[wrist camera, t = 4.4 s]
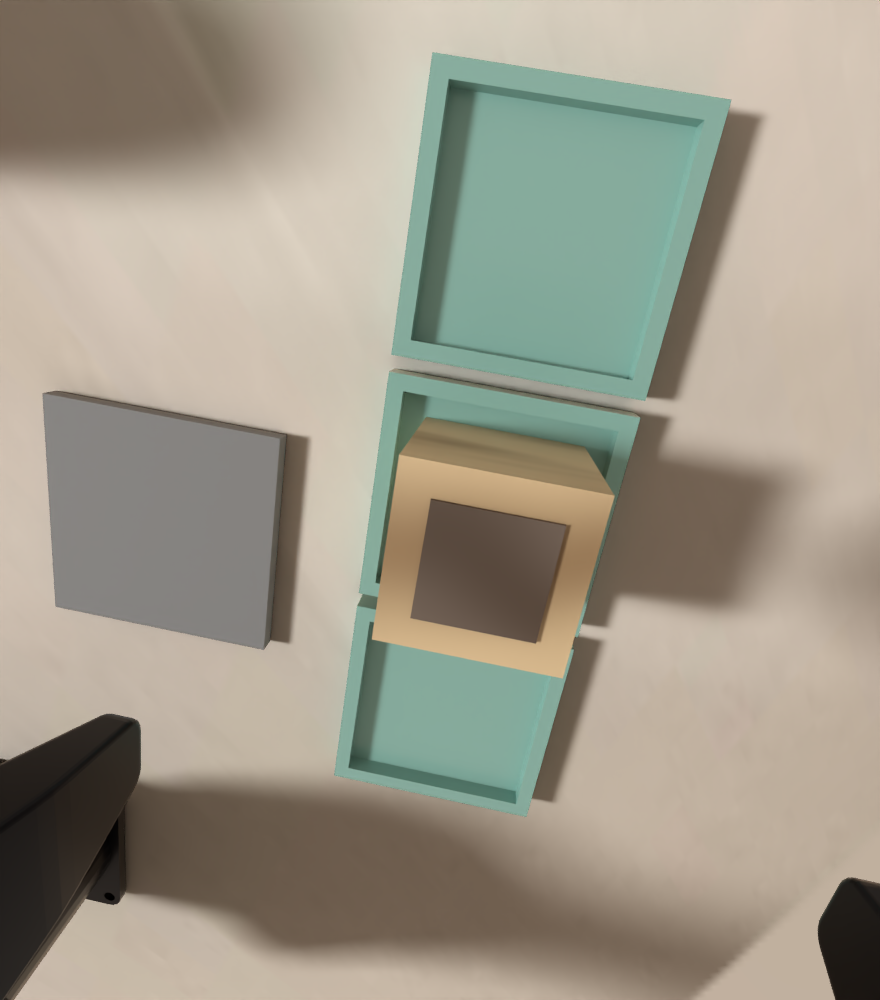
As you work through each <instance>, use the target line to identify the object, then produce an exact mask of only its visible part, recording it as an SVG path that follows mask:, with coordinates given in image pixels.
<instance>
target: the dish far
mask: <svg viewBox="0 0 880 1000" xmlns="http://www.w3.org/2000/svg"><path fill="white" fill-rule="evenodd" d="M377 600H378V597H376V596H371V595H366V594H363V595H362V597H361V599H360V601H359V603H358V605H357V611H356V619H355V626H354V633H353V641H352V648H351V656H350V663H349V670H348V678H347V685H346V692H345V700H344V707H343V714H342V722H341V729H340V736H339V744H338V751H337V758H336V766H335V773H334V775H335V776H339V777H344V778H349V779H353V780H358V781H363V782H367V783H372V784H376V785H381V786H386V787H390V788H395V789H400V790H404V791H409V792H413V793H418V794H423V795H427V796H432V797H436V798H441V799H446V800H450V801H455V802H460V803H464V804H469V805H473V806H478V807H483V808H487V809H492V810H497V811H501V812H506V813H510V814H515V815H520V816H524V817H526V816H527V813H528V809H529V806H530V802H531V799H532V795H533V792H534V788H535V785H536V781H537V778H538V774H539V771H540V767H541V764H542V760H543V757H544V753H545V750H546V746H547V743H548V740H549V736H550V733H551V729H552V726H553V722H554V719H555V715H556V712H557V708H558V705H559V701H560V698H561V694H562V691H563V687H564V684H565V680H566V677H567V673H568V670H569V666H570V663H571V659H572V656H573V652H574V647H573V644H572V648H571V651H570V655H569V658H568V662H567V665H566V669H565V672H564V676H563V679H562V678H558V677H553V676H548V675H543V674H538V673H533V672H528V671H523V670H519V669H514V668H509V667H504V666H499V665H494V664H489V663H484V662H480V661H475V660H470V659H465V658H460V657H455V656H450V655H445V654H441V653H436V652H431V651H426V650H421V649H416V648H411V647H406V646H402V645H397V644H392V643H387V642H382V641H377V640H372V634H373V627H374V620H375V614H376V607H377Z"/></svg>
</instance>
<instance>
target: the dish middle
mask: <svg viewBox="0 0 880 1000" xmlns="http://www.w3.org/2000/svg"><path fill="white" fill-rule="evenodd" d="M426 417H429V418H435V419H440V420H446V421H451V422H456V423H462V424H467V425H472V426H478V427H483V428H488V429H494V430H499V431H504V432H510V433H515V434H520V435H526V436H531V437H536V438H542V439H547V440H552V441H558V442H563V443H568V444H574V445H579V446H585V448H586V450H587V451H588V453H589V455H590V456H591V458H592V460H593V461H594V463H595V464H596V466H597V468H598V469H599V471H600V473H601V474H602V476H603V478H604V479H605V481H606V482H607V484H608V486H609V487H610V489H611V491H612V492H613V494H614V495H615V496H614V500H613V503H612V507H611V510H610V514H609V517H608V521H607V525H606V528H605V532H604V535H603V539H602V542H601V546H600V549H599V553H598V556H597V560H596V563H595V567H594V570H593V574H592V577H591V581H590V584H589V588H588V591H587V595H586V599H585V602H584V606H583V609H582V613H581V616H580V620H579V623H578V627H577V630H576V634H575V637H578V635H579V631H580V628H581V624H582V621H583V617H584V614H585V610H586V607H587V603H588V600H589V596H590V593H591V589H592V586H593V582H594V579H595V575H596V572H597V568H598V565H599V561H600V558H601V554H602V551H603V547H604V544H605V540H606V537H607V533H608V530H609V526H610V523H611V519H612V516H613V512H614V509H615V505H616V502H617V498H618V495H619V491H620V488H621V484H622V481H623V477H624V474H625V470H626V467H627V463H628V460H629V456H630V453H631V449H632V446H633V442H634V439H635V435H636V432H637V428H638V425H639V421H640V417H639V416H637V415H636V414H635V413H633V412H627V411H622V410H617V409H611V408H606V407H600V406H595V405H589V404H584V403H579V402H573V401H568V400H562V399H557V398H551V397H546V396H540V395H535V394H530V393H524V392H519V391H513V390H508V389H502V388H497V387H491V386H486V385H481V384H475V383H470V382H464V381H459V380H453V379H448V378H442V377H437V376H432V375H426V374H421V373H415V372H410V371H404V370H399V369H393V370H391V371H389V376H388V383H387V391H386V398H385V405H384V413H383V420H382V428H381V435H380V442H379V450H378V457H377V464H376V472H375V479H374V486H373V494H372V501H371V508H370V516H369V523H368V530H367V538H366V545H365V553H364V560H363V567H362V575H361V582H360V589H359V593H361V594H366V595H371V596H376V597H378V593H379V587H380V580H381V573H382V567H383V560H384V553H385V546H386V540H387V533H388V526H389V519H390V513H391V506H392V499H393V493H394V486H395V479H396V472H397V466H398V459H399V454H400V453H401V451H402V450H403V449H404V447H405V446H406V444H407V443H408V442H409V440H410V439H411V437H412V436H413V435H414V433H415V432H416V430H417V429H418V428H419V426H420V425H421V423H422V422H423V421H424V419H425V418H426Z"/></svg>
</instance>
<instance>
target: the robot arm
mask: <svg viewBox="0 0 880 1000" xmlns="http://www.w3.org/2000/svg"><path fill="white" fill-rule="evenodd" d="M140 770H141V729H140V724H139V722H138V721H137V720H135V719H133V718H129V717H124V716H120V715H115V714H105V715H102V716H99V717H97V718H95V719H93V720H91V721H89V722H87V723H85V724H83V725H81V726H78V727H76V728H74V729H72V730H70V731H68V732H66V733H64V734H62V735H60V736H58V737H56V738H54V739H51V740H49V741H47V742H45V743H43V744H41V745H39V746H37V747H35V748H33V749H31V750H29V751H27V752H25V753H22V754H20V755H18V756H16V757H14V758H12V759H10V760H8V761H6V762H4V763H2V764H0V1000H14V999H15V998H16V996H17V995H18V993H19V992H20V990H21V989H22V988H23V986H24V985H25V983H26V982H27V981H28V979H29V978H30V976H31V975H32V974H33V972H34V971H35V969H36V968H37V967H38V965H39V964H40V962H41V961H42V959H43V958H44V957H45V955H46V954H47V952H48V951H49V950H50V948H51V947H52V945H53V944H54V943H55V941H56V940H57V938H58V937H59V935H60V934H61V933H62V931H63V930H64V928H65V927H66V926H67V924H68V923H69V921H70V920H71V919H72V917H73V916H74V914H75V913H76V911H77V910H78V909H79V907H80V906H81V904H82V903H83V902H84V900H85V899H89V900H93V901H98V902H102V903H106V904H112V905H114V904H117V903H119V902H120V900H121V898H122V897H123V895H124V894H125V891H126V888H125V836H124V806H125V804H126V802H127V800H128V799H129V797H130V795H131V793H132V792H133V790H134V788H135V786H136V784H137V781H138V778H139V775H140ZM818 940H819V945H820V949H821V952H822V956H823V959H824V962H825V966H826V969H827V973H828V976H829V979H830V983H831V986H832V990H833V993H834V996H835V1000H880V884H879V883H875V882H871V881H866V880H861V879H857V878H846V879H844V880H843V881H842V882H841V883H840V884H839V886H838V888H837V890H836V891H835V893H834V895H833V897H832V899H831V900H830V902H829V904H828V906H827V908H826V909H825V911H824V913H823V914H822V916H821V918H820V920H819V925H818Z"/></svg>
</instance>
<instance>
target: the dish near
mask: <svg viewBox="0 0 880 1000" xmlns="http://www.w3.org/2000/svg"><path fill="white" fill-rule="evenodd" d="M730 103H731V100H730V99H723V98H717V97H711V96H705V95H698V94H692V93H686V92H679V91H673V90H667V89H660V88H654V87H648V86H642V85H635V84H629V83H623V82H616V81H610V80H604V79H597V78H591V77H585V76H578V75H572V74H566V73H560V72H553V71H547V70H541V69H534V68H528V67H522V66H515V65H509V64H503V63H497V62H490V61H484V60H478V59H471V58H465V57H459V56H452V55H446V54H440V53H434V52H432V60H431V67H430V75H429V82H428V89H427V97H426V104H425V111H424V119H423V126H422V133H421V141H420V148H419V155H418V163H417V170H416V177H415V185H414V192H413V200H412V207H411V214H410V222H409V229H408V236H407V244H406V251H405V258H404V266H403V273H402V280H401V288H400V295H399V303H398V310H397V317H396V325H395V332H394V339H393V347H392V354H391V355H397V356H402V357H408V358H413V359H419V360H424V361H430V362H435V363H441V364H446V365H452V366H457V367H463V368H468V369H474V370H479V371H484V372H490V373H495V374H501V375H506V376H512V377H517V378H523V379H528V380H534V381H539V382H545V383H550V384H556V385H561V386H567V387H572V388H578V389H583V390H588V391H594V392H599V393H605V394H610V395H616V396H621V397H627V398H632V399H638V400H643V401H645V400H646V397H647V393H648V390H649V386H650V383H651V379H652V376H653V372H654V369H655V365H656V362H657V358H658V355H659V351H660V348H661V344H662V341H663V337H664V334H665V330H666V327H667V323H668V320H669V316H670V313H671V309H672V306H673V302H674V299H675V295H676V292H677V288H678V285H679V281H680V278H681V274H682V271H683V268H684V264H685V261H686V257H687V254H688V250H689V247H690V243H691V240H692V236H693V233H694V229H695V226H696V222H697V219H698V215H699V212H700V208H701V205H702V201H703V198H704V194H705V191H706V187H707V184H708V180H709V177H710V173H711V170H712V166H713V163H714V159H715V156H716V152H717V149H718V145H719V142H720V138H721V135H722V131H723V128H724V124H725V121H726V117H727V114H728V110H729V107H730Z"/></svg>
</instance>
